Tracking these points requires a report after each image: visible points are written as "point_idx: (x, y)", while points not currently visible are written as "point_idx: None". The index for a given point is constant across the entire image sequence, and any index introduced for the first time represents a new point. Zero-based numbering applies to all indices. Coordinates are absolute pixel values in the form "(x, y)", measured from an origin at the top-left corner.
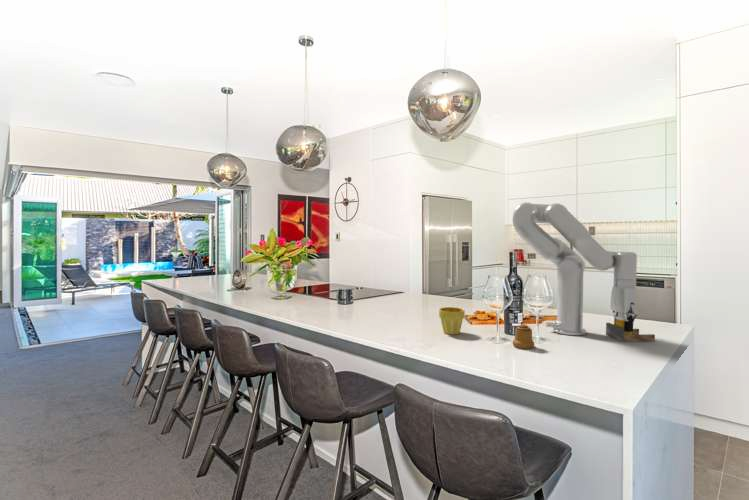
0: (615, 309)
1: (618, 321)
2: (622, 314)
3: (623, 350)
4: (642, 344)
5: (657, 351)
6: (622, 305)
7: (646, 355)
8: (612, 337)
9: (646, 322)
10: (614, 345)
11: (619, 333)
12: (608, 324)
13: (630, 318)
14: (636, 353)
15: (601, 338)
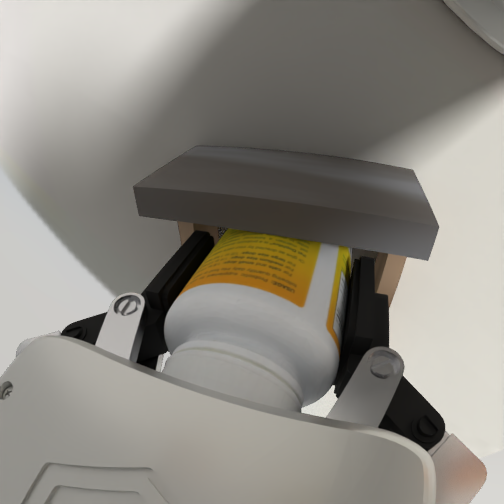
0: (226, 429)
1: (221, 268)
2: (167, 368)
3: (44, 71)
4: (151, 234)
5: (63, 213)
6: (2, 426)
7: (15, 136)
8: (310, 155)
9: (474, 452)
10: (109, 55)
11: (185, 166)
12: (387, 211)
13: (81, 321)
14: (23, 110)
15: (297, 47)
